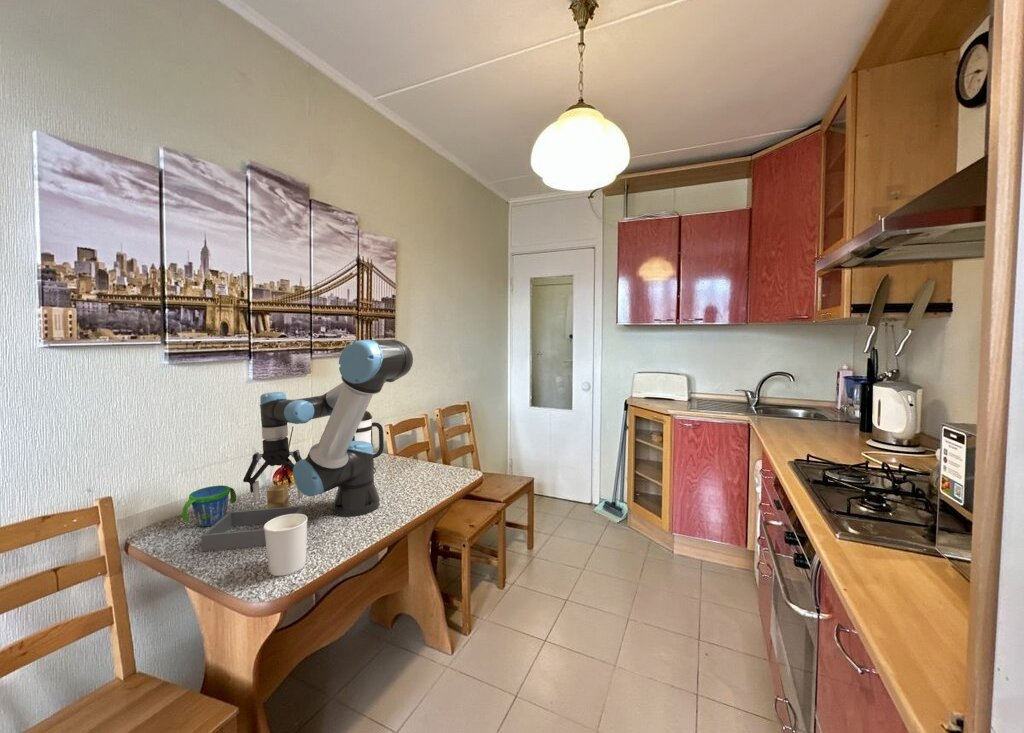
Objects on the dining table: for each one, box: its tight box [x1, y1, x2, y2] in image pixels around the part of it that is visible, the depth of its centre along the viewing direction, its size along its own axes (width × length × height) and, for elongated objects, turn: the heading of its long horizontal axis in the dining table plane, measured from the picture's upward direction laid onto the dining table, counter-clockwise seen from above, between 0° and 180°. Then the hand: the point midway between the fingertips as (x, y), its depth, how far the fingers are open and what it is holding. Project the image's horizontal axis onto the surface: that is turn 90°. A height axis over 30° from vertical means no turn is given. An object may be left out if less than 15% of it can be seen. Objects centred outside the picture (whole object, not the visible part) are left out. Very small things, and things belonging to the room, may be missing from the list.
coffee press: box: [352, 410, 385, 474], centre depth 176 cm, size 17×16×30 cm
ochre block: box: [266, 484, 290, 508], centre depth 137 cm, size 5×5×8 cm
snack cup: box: [181, 484, 237, 527], centre depth 128 cm, size 16×10×10 cm
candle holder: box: [263, 514, 308, 577], centre depth 103 cm, size 10×10×12 cm
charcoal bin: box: [200, 504, 306, 552], centre depth 121 cm, size 22×16×4 cm
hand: (278, 499), depth 137 cm, fingers open, 13 cm apart
